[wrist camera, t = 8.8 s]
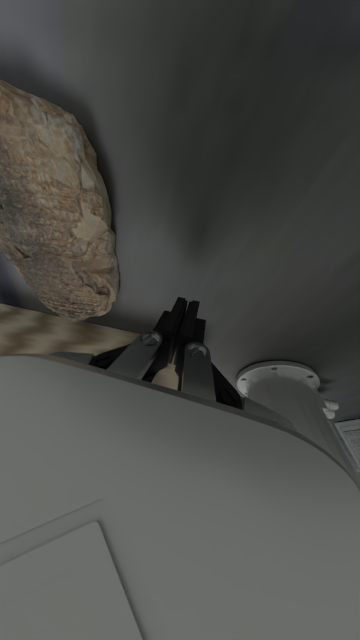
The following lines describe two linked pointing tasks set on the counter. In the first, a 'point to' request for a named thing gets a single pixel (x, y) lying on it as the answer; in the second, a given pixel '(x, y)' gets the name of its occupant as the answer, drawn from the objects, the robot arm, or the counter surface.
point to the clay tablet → (54, 207)
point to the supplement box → (351, 436)
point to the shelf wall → (64, 337)
